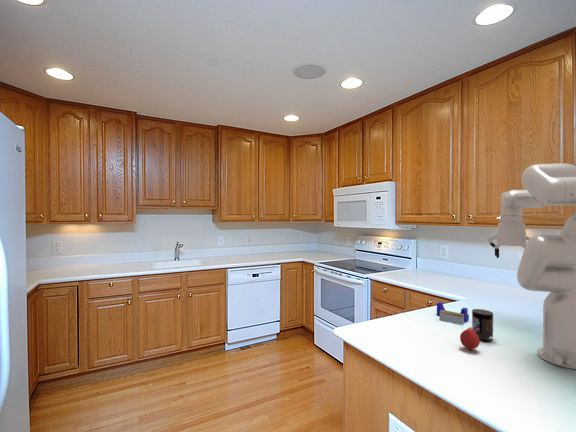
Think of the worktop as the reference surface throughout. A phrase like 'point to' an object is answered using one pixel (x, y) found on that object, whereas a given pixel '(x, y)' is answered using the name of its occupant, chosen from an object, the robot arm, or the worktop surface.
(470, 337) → the onion
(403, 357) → the worktop surface
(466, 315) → the cable clip
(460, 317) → the end stop block
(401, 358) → the worktop surface
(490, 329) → the supplement container
